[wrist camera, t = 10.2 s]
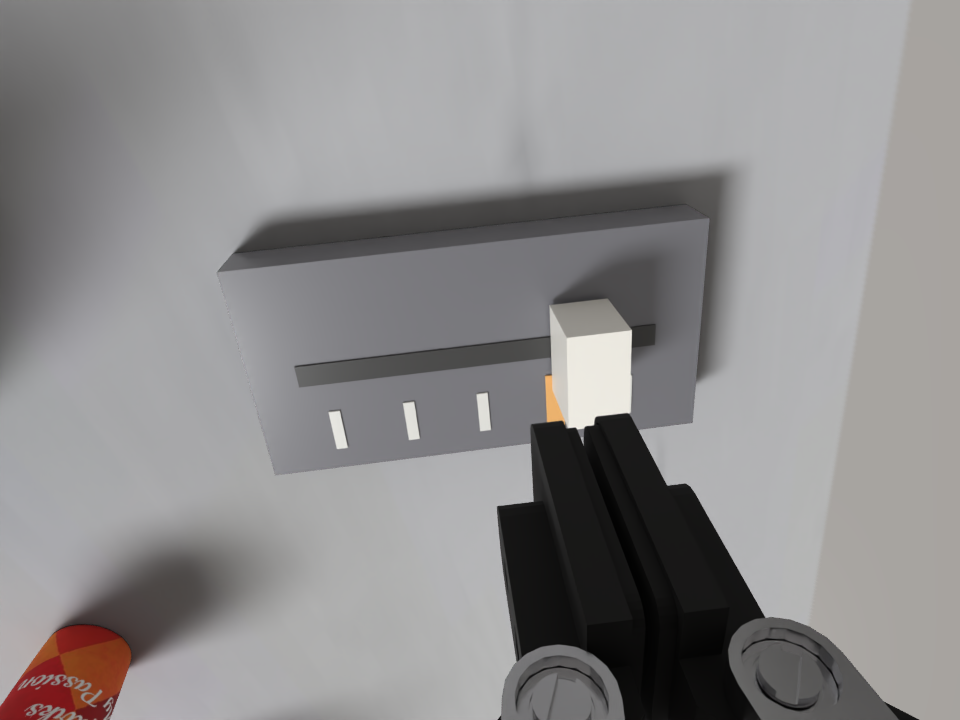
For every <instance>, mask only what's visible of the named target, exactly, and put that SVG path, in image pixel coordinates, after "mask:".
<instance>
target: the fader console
mask: <svg viewBox="0 0 960 720" xmlns="http://www.w3.org/2000/svg"><path fill="white" fill-rule="evenodd" d="M709 221H710V218H709V217H707V216H705V215H704V214H702V213H700V212H698V211H697V210H695V209H693V208H692V207H690V206H688V205H687V204H684V205H674V206H665V207H656V208H647V209H638V210H629V211H619V212H610V213H601V214H592V215H583V216H573V217H564V218H555V219H546V220H537V221H527V222H518V223H509V224H500V225H491V226H481V227H472V228H463V229H454V230H445V231H436V232H426V233H417V234H408V235H399V236H390V237H380V238H371V239H362V240H353V241H344V242H334V243H325V244H316V245H307V246H298V247H288V248H279V249H270V250H261V251H252V252H242V253H233V254H232V255H231V256H230V257H229V258H228V260H227V261H226V262H225V263H224V264H223V266H222V267H221V268H220V269H219V270H218V271H217V275H218V279H219V282H220V286H221V289H222V293H223V296H224V300H225V303H226V307H227V310H228V313H229V317H230V320H231V324H232V327H233V331H234V334H235V338H236V341H237V345H238V348H239V351H240V355H241V358H242V362H243V365H244V369H245V372H246V376H247V379H248V383H249V386H250V389H251V393H252V396H253V400H254V403H255V407H256V410H257V414H258V417H259V421H260V424H261V428H262V431H263V434H264V438H265V441H266V445H267V448H268V452H269V455H270V459H271V462H272V466H273V469H274V472H275V475H282V474H290V473H298V472H306V471H314V470H322V469H330V468H338V467H346V466H354V465H362V464H370V463H378V462H386V461H394V460H402V459H409V458H417V457H425V456H433V455H441V454H449V453H457V452H465V451H473V450H481V449H489V448H497V447H505V446H513V445H521V444H529V443H531V435H530V427H531V424H536V423H544V422H553V421H561V420H562V421H563V422H564V424H565V427H566V428H568V427H567V425H566V422H565V420H564V417H563V415H562V412H561V410H560V408H559V405H558V403H557V400H556V398H555V395H554V393H553V390H552V362H551V334H550V306H549V305H555V304H563V303H572V302H581V301H589V300H598V299H607V298H608V300H609V301H610V302H611V304H612V305H613V306H614V308H615V309H616V310H617V311H618V313H619V314H620V315H621V317H622V318H623V319H624V321H625V322H626V323H627V325H628V326H629V327H630V328H631V330H632V345H631V379H630V412H629V414H630V416H631V417H632V419H633V421H634V423H635V425H636V427H637V429H638V430H640V429H648V428H656V427H664V426H671V425H679V424H687V423H692V422H693V410H694V399H695V387H696V375H697V363H698V351H699V339H700V327H701V316H702V304H703V292H704V280H705V268H706V256H707V244H708V233H709ZM577 430H578V433H579V435H580V437H584V429H577Z"/></svg>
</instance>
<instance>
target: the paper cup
mask: <svg viewBox="0 0 960 720" xmlns="http://www.w3.org/2000/svg"><path fill="white" fill-rule="evenodd" d="M130 661H131V650H130V647H129V645H128V644H127V642H126V641H125V640H124V639H123V638H122V637H121V636H119V635H118V634H116V633H115V632H113V631H111V630H108V629H106V628H103V627H99V626H94V625H73V626H68V627H65V628H62V629H60V630H58V631H57V632H55V633H54V634H53V635H52V636H51V637H50V638H49V639H48V641H47V642H46V643H45V644H44V646H43V647H42V648H41V650H40V651H39V653H38V654H37V655H36V657H35V658H34V659H33V661H32V662H31V664H30V665H29V666H28V668H27V669H26V671H25V672H24V673H23V675H22V676H21V678H20V679H19V681H18V682H17V683H16V685H15V686H14V688H13V689H12V691H11V692H10V693H9V695H8V696H7V698H6V699H5V701H4V702H3V703H2V705H1V706H0V720H110V717H111V715H112V712H113V709H114V707H115V704H116V701H117V699H118V696H119V693H120V691H121V688H122V685H123V682H124V679H125V677H126V674H127V671H128V668H129V665H130Z"/></svg>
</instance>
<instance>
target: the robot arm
mask: <svg viewBox="0 0 960 720" xmlns="http://www.w3.org/2000/svg"><path fill="white" fill-rule="evenodd" d="M530 435H531V455H532V476H533V496H534V502H529V503H521V504H512V505H504V506H497V515H498V526H499V538H500V548H501V557H502V565H503V573H504V580H505V587H506V594H507V601H508V607H509V614H510V621H511V627H512V634H513V641H514V647H515V654H516V661H517V663H515V664H514V666H513V667H512V669H511V671H510V673H509V674H508V676H507V678H506V679H505V684H504V689H503V694H502V710H501V716H500V718H499V719H498V720H919V719H916V718H915V717H912V716H911V715H909V714H907V713H905V712H903V711H901V710H899V709H897V708H895V707H893V706H891V705H889V704H887V703H886V702H884V701H883V700H882V699H881V698H880V697H879V695H878V694H877V693H876V692H875V691H874V690H873V688H872V687H871V686H870V685H869V684H868V682H867V681H866V680H865V679H864V678H863V676H862V675H861V674H860V673H859V672H858V670H856V668H855V667H854V666H853V664H852V663H851V662H850V661H849V660H848V659H847V657H846V656H845V655H844V654H843V652H841V650H839V649H838V648H837V647H836V646H835V645H834V644H833V643H832V642H831V641H830V640H829V639H828V638H827V637H825V636H824V635H822V634H820V633H819V632H817V631H816V630H814V629H812V628H811V627H809V626H806V625H803V624H801V623H798V622H795V621H793V620H789V619H782V618H774V617H769V618H765V616H764V614H763V613H762V611H761V609H760V607H759V606H758V604H757V602H756V600H755V599H754V597H753V595H752V593H751V592H750V590H749V588H748V586H747V584H746V583H745V581H744V579H743V577H742V576H741V574H740V572H739V570H738V569H737V567H736V565H735V563H734V562H733V560H732V558H731V556H730V554H729V553H728V551H727V549H726V547H725V546H724V544H723V542H722V540H721V539H720V537H719V535H718V533H717V532H716V530H715V528H714V526H713V524H712V523H711V521H710V519H709V517H708V516H707V514H706V512H705V510H704V509H703V507H702V505H701V503H700V502H699V500H698V498H697V496H696V494H695V493H694V491H693V490H692V489H691V487H690V486H688V485H687V484H678V485H670V486H667V485H666V483H665V481H664V479H663V477H662V475H661V473H660V471H659V469H658V467H657V465H656V463H655V461H654V460H653V458H652V456H651V454H650V452H649V450H648V448H647V446H646V444H645V442H644V440H643V438H642V436H641V434H640V433H639V431H638V429H637V427H636V425H635V423H634V421H633V419H632V417H631V416H630V414H628V413H622V414H613V415H605V416H597V417H595V420H594V425H592V426H585V427H584V446H583V443H582V441H581V438H580V435H579V433H578V430H577V428H576V427H574V428H566V427H565V424H564V422H563V421H562V420H561V421H553V422H544V423H536V424H531V427H530Z"/></svg>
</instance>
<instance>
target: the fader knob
mask: <svg viewBox="0 0 960 720" xmlns="http://www.w3.org/2000/svg"><path fill="white" fill-rule="evenodd" d="M549 306H550V334H551V362H552V390H553V393H554V395H555V398H556V400H557V403H558V405H559V408H560V410H561V412H562V415H563V417H564V420H565V422H566V425H567V427H568V428H574V427H576V428H577V429H584V427H585V426H592V425H594V420H595V417H597V416H605V415H613V414H622V413H628V414H629V412H630V379H631V345H632V330H631V328H630V327H629V326H628V325H627V323H626V322H625V321H624V319H623V318H622V317H621V315H620V314H619V313H618V311H617V310H616V309H615V308H614V306H613V305H612V304H611V302H610V301H609V300H608V298H607V299H598V300H589V301H581V302H572V303H563V304H555V305H549Z"/></svg>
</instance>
